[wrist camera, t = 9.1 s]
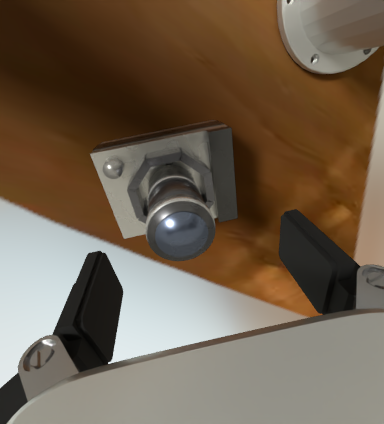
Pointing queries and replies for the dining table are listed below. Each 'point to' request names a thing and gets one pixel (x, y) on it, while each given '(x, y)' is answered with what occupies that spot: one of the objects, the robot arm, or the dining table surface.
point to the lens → (177, 215)
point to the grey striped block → (162, 156)
